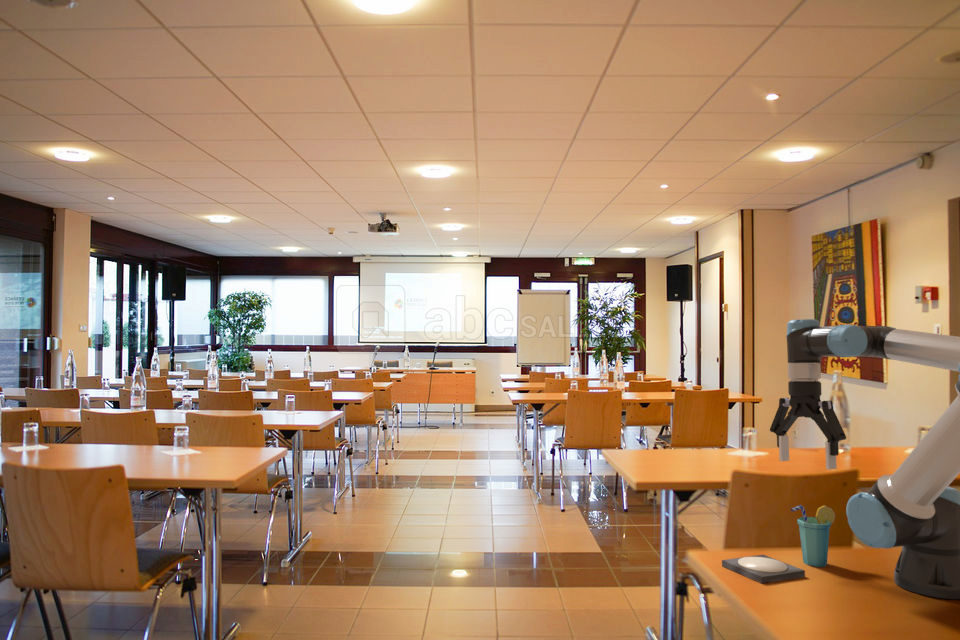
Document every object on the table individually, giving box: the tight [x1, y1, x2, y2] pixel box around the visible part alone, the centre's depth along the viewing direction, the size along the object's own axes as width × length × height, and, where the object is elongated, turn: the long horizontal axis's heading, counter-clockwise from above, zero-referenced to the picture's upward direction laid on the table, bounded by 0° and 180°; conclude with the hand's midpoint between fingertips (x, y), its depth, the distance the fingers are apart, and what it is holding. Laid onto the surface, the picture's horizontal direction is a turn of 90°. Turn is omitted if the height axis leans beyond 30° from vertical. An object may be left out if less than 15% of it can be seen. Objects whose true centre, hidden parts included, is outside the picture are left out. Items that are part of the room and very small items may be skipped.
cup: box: [790, 504, 836, 568], centre depth 163 cm, size 14×8×15 cm, turn 116°
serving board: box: [721, 554, 806, 584], centre depth 157 cm, size 13×13×2 cm
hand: (807, 464), depth 164 cm, fingers open, 13 cm apart
